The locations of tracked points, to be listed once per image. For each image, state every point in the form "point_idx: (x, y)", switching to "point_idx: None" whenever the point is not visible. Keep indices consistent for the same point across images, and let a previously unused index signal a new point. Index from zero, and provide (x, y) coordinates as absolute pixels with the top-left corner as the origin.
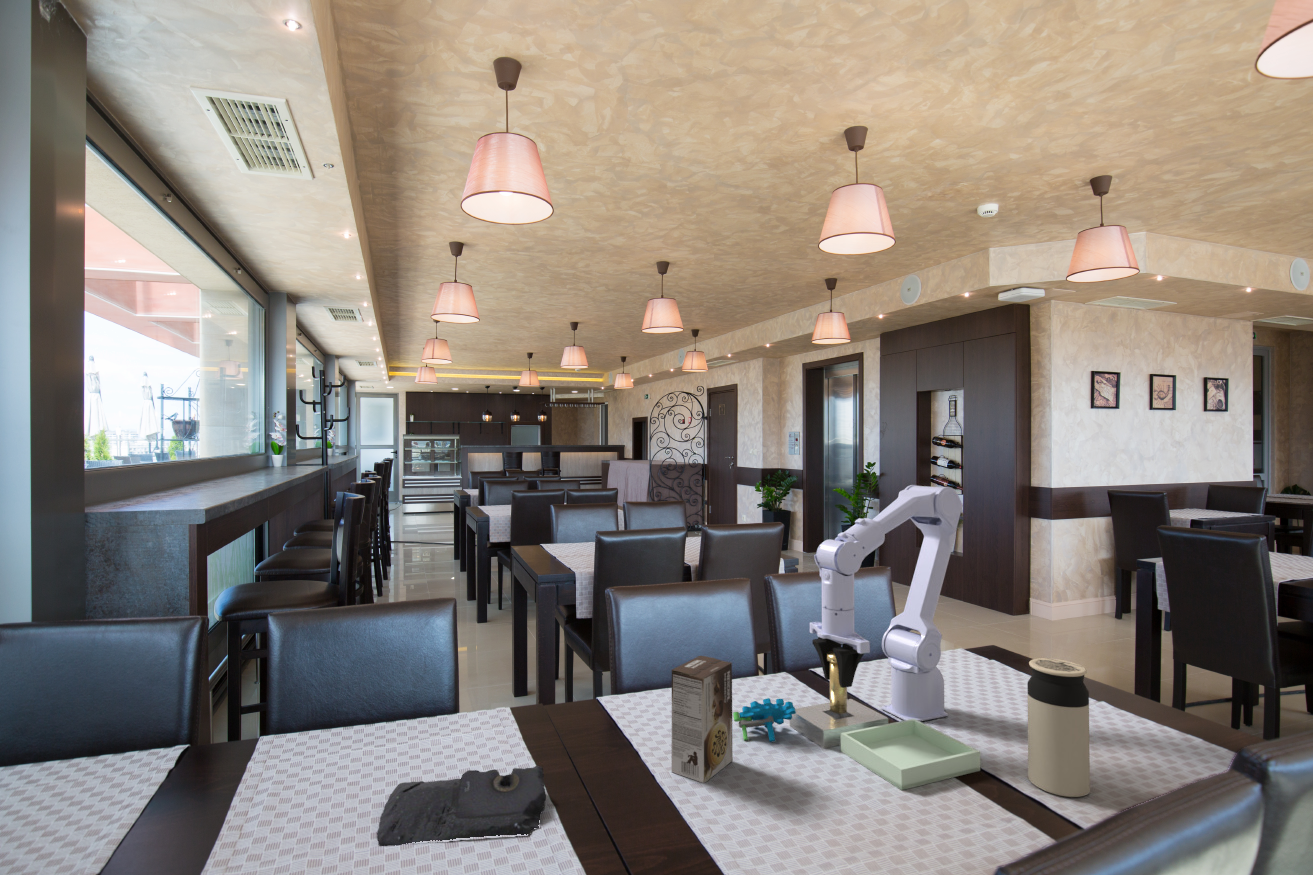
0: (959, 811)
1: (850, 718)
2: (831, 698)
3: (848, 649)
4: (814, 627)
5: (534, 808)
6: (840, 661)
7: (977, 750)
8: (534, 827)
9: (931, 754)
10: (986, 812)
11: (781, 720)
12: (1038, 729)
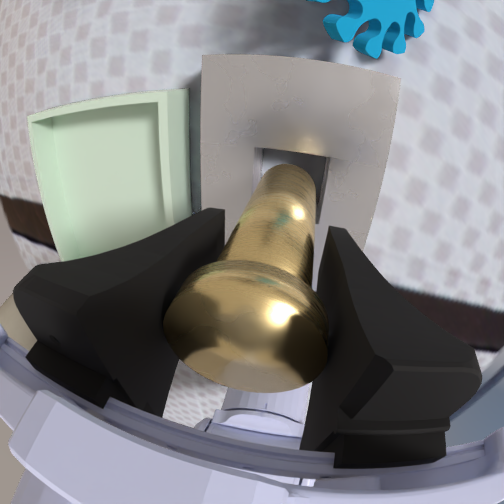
0: (17, 146)
1: (240, 189)
2: (285, 178)
3: (54, 349)
4: (487, 491)
5: None
6: (107, 257)
7: None
8: None
9: (113, 235)
10: (15, 174)
11: (384, 39)
12: (7, 308)
